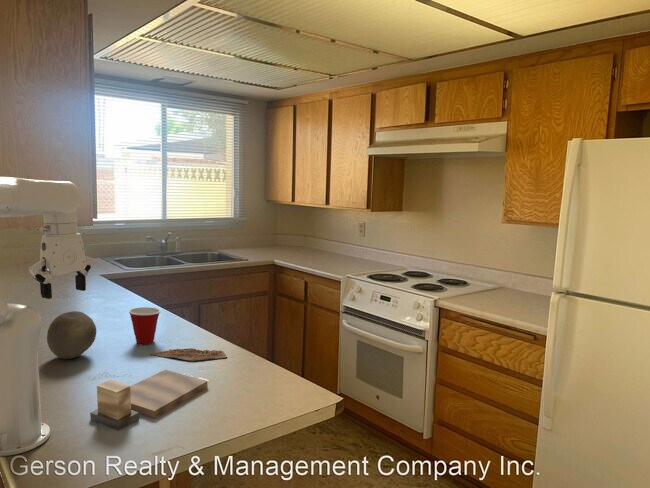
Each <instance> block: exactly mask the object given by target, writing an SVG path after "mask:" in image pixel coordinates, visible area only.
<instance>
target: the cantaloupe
mask: <svg viewBox="0 0 650 488" xmlns="http://www.w3.org/2000/svg"><path fill="white" fill-rule="evenodd" d="M48 326H49V327H48V329H47V333H46V334H47V335H46V343H47V346H48V348H49V350H50V352H51V353H52V354H53V355H55V356H56V358H59V359H62V360H70V359H75V358H77V357H79V356H81V355H82V354H84V353H85V352H86V351H88V350H89V349H90V348H91V346H92V345H93V344H94V342H95V341H96V338H97V326H96V324H95V322H94V320H93V319H92V318H91V317H90V316H89V315H88V314H86V313H84V312H82V311H77V310H73V311H67V312H64V313H62V314H61V313H60V314H59V315H58V316H57V317H55V318H54V319H53V320H52V321H51V322H50V324H49V325H48Z"/></svg>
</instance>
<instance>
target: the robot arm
mask: <svg viewBox="0 0 650 488" xmlns="http://www.w3.org/2000/svg"><path fill="white" fill-rule="evenodd" d="M81 199H82V195H81V190H79V187H78V186H77V185H76V184H75V183H74V182H71V181H67V180H65V181H64V180H41V179H31V178H30V179H28V178H23V177H15V176H14V177H12V176H2V175H1V176H0V218H11V217H13V218H16V217H19V218H20V217H29V216H41V215H42V216H43V226H40V227H39V231H40V233H43V234H44V235H41V236H42V237H41V242H40V250H39V260H38V261H37V262H35V263H34V264H32V265H31V266H29V267H28V271H29V272H30V274H31V276H32V278H33V279H34V280H35V281H36V282H37V283H38V284H39V287H40V288H39V289H40V295H41V298H43V299H47V300H50V299H52V298H53V293H52V292H53V289H52V284H51V282H50V281H51V280H52V278H53V276H62V275H68V274H72V273H75V274H76V275H75V276H74V277H75V279H74V283H75V290H76V291H81V292H85V291H86V290H87V289H86V286H87V284H86V283H87V282H86V281H87V280H86V276H88V274H89V273H88V272H89V271H90V270H91V266H92V264H93V261H94V258H93V257H91V256H88V255H86V252H85V246H84V241H83V237H82V235H81V233H80V232H78V220H77V219H78V217H77V210H78V208H79V206H80V205H81V201H82V200H81ZM39 270H40V271H41V273H40V271H39ZM41 318H42V317H41V315H40V313H39V312H38V311H37V310H36V309H35V308H34V307H32V306H30V305H26V304H22V303H21V304H20V303H7V301H6V299H5V298H4V297H3V296H2V294H0V457H3V456H4V457H5V456H12V455H13V456H14V455H18V454H23V453H26V452H28V451H31V450H34V449H35V448H37V447H39V446H40V445H42V444H44V443H45V442H46V441H47V440H48V439H49V438H50V437H51V427H50V426H49V425H48V424H47V423H44V422H43V418H42V405H41V390H40V389H41V388H40V375H39V374H40V371H39V339H40V333H41V327H42V319H41Z"/></svg>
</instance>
